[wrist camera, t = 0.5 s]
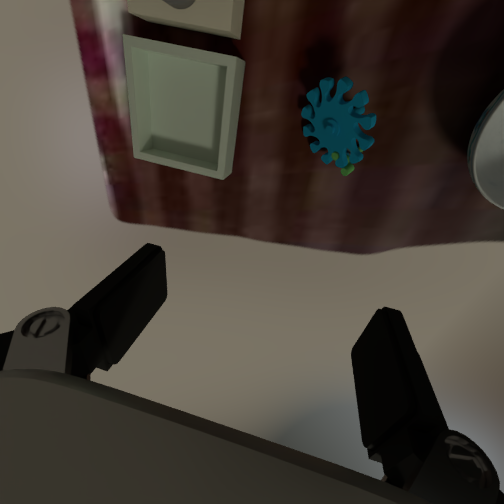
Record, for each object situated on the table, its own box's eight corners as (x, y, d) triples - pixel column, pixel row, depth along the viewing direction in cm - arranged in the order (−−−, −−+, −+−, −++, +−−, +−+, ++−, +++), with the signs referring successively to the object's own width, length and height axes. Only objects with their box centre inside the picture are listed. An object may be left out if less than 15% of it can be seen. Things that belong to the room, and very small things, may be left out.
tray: (142, 41, 32) (122, 34, 28) (245, 61, 30) (236, 56, 27) (149, 152, 39) (134, 157, 36) (231, 173, 38) (223, 179, 35)
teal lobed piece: (288, 92, 30) (360, 67, 22) (322, 74, 31) (400, 45, 23) (310, 175, 36) (373, 180, 28) (337, 156, 37) (404, 156, 29)
